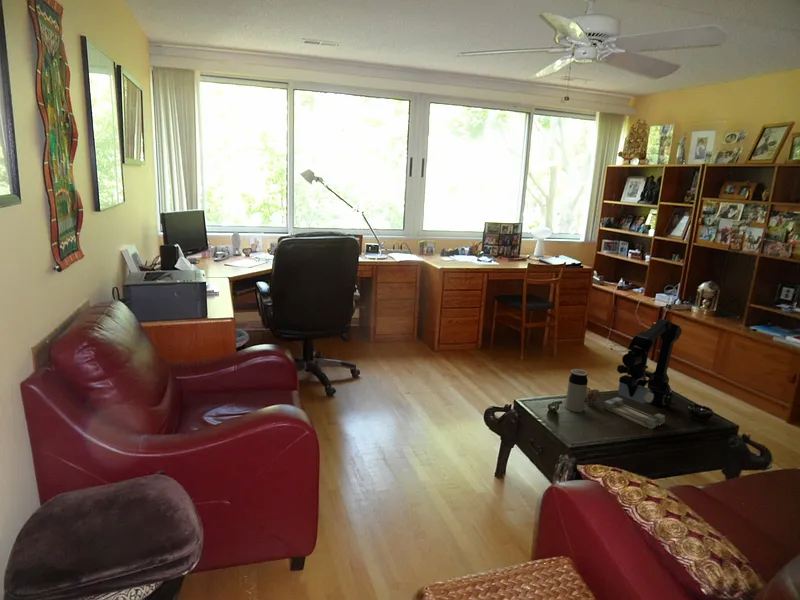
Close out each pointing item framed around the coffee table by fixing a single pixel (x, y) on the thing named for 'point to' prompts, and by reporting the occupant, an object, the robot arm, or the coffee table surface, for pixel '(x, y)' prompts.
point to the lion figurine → (592, 395)
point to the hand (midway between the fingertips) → (633, 395)
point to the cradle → (633, 413)
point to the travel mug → (576, 390)
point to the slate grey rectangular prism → (636, 393)
